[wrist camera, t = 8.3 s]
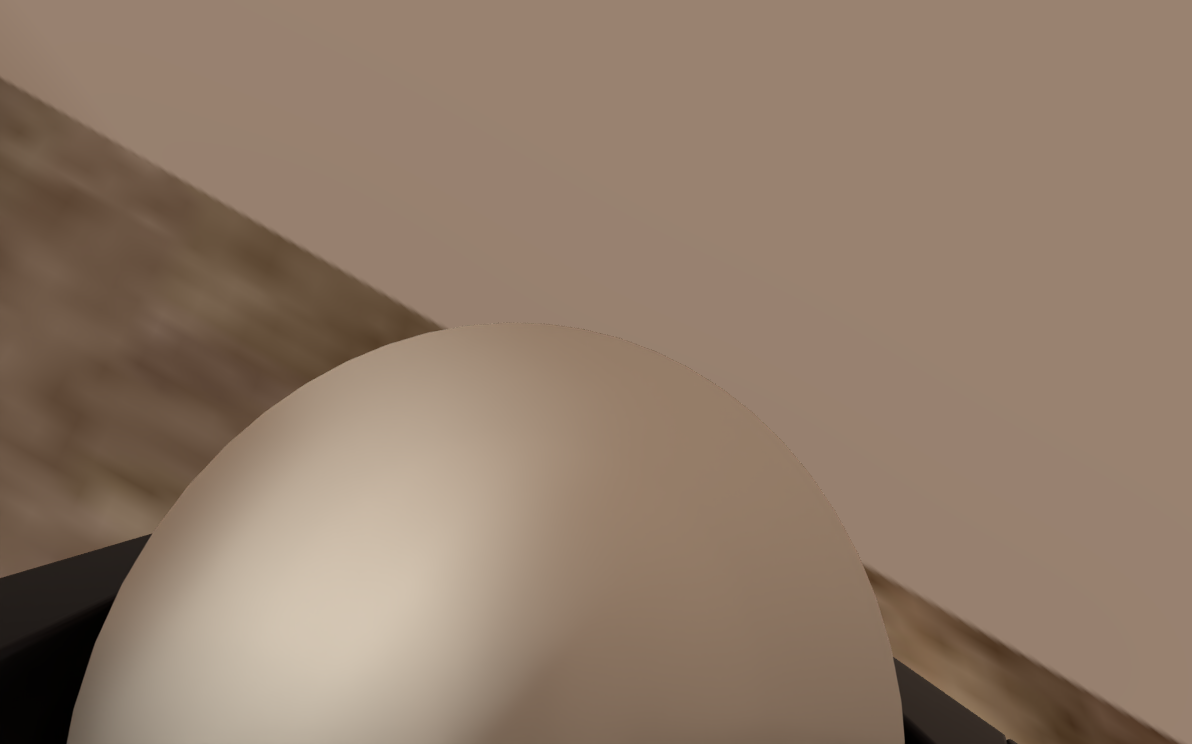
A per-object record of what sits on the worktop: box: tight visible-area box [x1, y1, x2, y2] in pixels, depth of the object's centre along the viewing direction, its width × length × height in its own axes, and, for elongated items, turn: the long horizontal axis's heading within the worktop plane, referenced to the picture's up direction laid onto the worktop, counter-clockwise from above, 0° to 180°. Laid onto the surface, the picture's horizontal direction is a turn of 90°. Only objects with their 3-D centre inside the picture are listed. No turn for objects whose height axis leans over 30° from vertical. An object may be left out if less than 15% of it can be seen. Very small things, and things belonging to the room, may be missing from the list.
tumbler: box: [67, 323, 905, 744], centre depth 9 cm, size 7×7×10 cm
